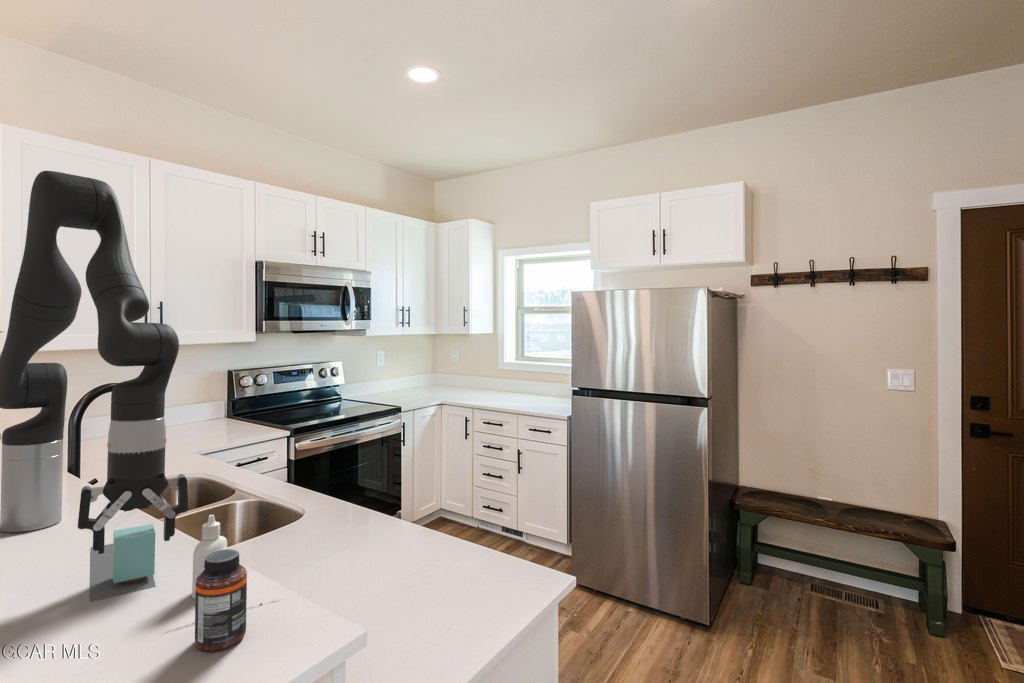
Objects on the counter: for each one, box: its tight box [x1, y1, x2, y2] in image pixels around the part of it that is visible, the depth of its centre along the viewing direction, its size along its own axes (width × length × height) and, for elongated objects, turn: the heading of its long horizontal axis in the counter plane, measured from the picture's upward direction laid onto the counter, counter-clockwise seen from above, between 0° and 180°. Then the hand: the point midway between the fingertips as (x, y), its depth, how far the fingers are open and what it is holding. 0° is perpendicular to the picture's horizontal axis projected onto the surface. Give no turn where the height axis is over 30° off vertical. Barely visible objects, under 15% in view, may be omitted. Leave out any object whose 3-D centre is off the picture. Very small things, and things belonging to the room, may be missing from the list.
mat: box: [89, 543, 157, 603], centre depth 87 cm, size 24×8×1 cm, turn 39°
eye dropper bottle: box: [191, 514, 228, 599], centre depth 80 cm, size 4×6×12 cm
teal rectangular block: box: [112, 523, 156, 584], centre depth 82 cm, size 5×5×7 cm
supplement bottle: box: [194, 548, 248, 652], centre depth 67 cm, size 6×6×11 cm
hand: (134, 545), depth 83 cm, fingers open, 8 cm apart
